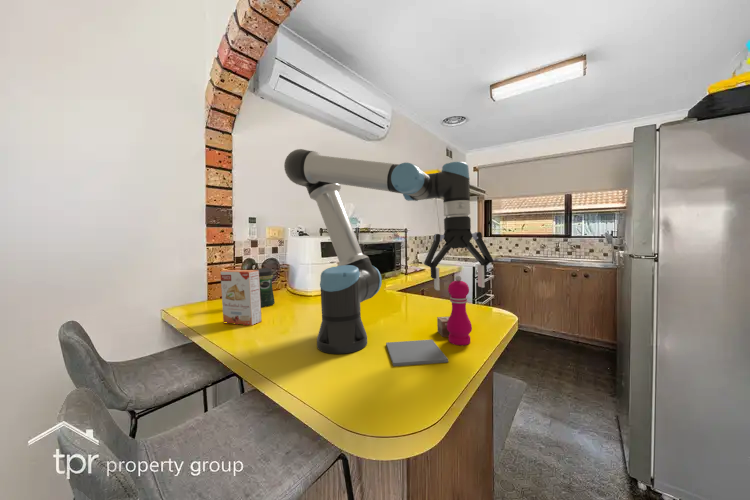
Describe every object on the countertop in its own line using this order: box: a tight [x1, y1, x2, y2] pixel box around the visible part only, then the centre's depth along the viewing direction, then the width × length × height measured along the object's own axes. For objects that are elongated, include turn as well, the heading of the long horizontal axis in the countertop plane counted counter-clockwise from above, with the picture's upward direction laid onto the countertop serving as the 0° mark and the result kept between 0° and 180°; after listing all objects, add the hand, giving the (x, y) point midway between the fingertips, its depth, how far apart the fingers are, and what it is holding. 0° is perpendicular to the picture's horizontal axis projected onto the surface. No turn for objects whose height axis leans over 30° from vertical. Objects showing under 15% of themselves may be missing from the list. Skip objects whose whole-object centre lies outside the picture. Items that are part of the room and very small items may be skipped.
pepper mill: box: [447, 275, 473, 346], centre depth 86 cm, size 7×7×20 cm
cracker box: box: [220, 269, 262, 326], centre depth 113 cm, size 14×6×21 cm, turn 71°
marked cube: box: [436, 315, 450, 338], centre depth 93 cm, size 5×5×5 cm
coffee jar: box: [254, 267, 275, 308], centre depth 142 cm, size 10×8×19 cm
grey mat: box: [385, 339, 449, 367], centre depth 79 cm, size 14×14×1 cm
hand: (459, 288), depth 85 cm, fingers open, 13 cm apart
